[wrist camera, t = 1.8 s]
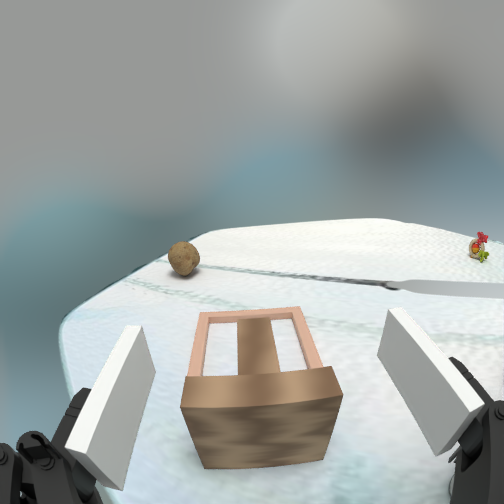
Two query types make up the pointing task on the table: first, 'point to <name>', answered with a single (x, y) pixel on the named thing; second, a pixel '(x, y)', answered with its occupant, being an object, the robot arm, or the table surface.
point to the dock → (232, 316)
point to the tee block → (261, 408)
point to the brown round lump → (183, 258)
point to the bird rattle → (475, 247)
